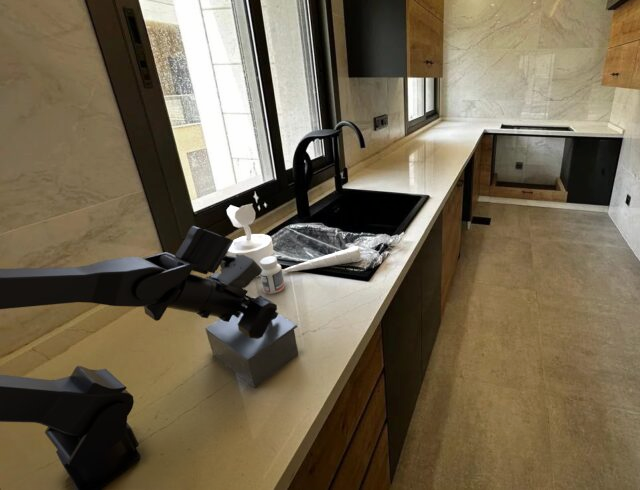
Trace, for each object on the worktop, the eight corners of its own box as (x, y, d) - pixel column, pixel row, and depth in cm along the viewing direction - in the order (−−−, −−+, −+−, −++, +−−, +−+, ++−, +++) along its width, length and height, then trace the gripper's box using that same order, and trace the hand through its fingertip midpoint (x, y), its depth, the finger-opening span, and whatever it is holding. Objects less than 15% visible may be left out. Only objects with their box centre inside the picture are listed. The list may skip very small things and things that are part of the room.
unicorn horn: (280, 266, 98) (278, 252, 97) (360, 256, 105) (359, 243, 103) (278, 275, 94) (276, 260, 92) (361, 263, 100) (360, 250, 99)
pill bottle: (285, 281, 91) (280, 253, 88) (284, 292, 87) (278, 263, 84) (264, 284, 90) (258, 256, 87) (262, 296, 85) (256, 266, 82)
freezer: (256, 326, 75) (251, 304, 72) (298, 353, 68) (294, 329, 65) (213, 354, 67) (205, 330, 65) (254, 388, 60) (248, 362, 58)
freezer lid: (254, 302, 73) (251, 285, 71) (297, 326, 66) (294, 308, 64) (205, 330, 65) (200, 312, 63) (248, 362, 58) (243, 342, 56)
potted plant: (284, 271, 96) (270, 191, 87) (242, 289, 88) (222, 202, 79) (265, 256, 104) (250, 181, 95) (225, 271, 96) (205, 191, 87)
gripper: (257, 266, 53) (318, 288, 66) (199, 238, 62) (262, 262, 75) (218, 334, 50) (290, 344, 62) (163, 293, 59) (236, 309, 72)
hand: (269, 311), depth 68 cm, fingers closed on freezer lid, 5 cm apart
